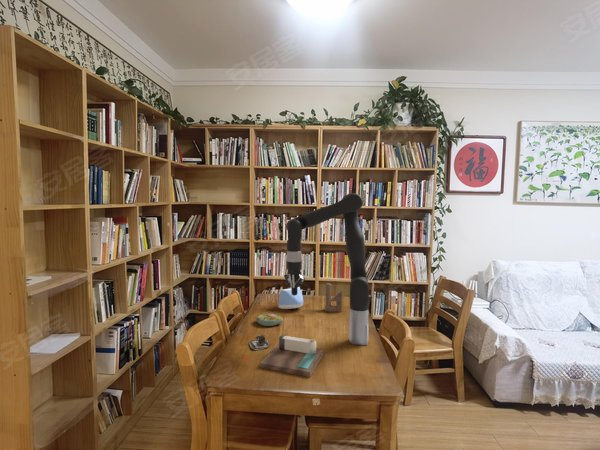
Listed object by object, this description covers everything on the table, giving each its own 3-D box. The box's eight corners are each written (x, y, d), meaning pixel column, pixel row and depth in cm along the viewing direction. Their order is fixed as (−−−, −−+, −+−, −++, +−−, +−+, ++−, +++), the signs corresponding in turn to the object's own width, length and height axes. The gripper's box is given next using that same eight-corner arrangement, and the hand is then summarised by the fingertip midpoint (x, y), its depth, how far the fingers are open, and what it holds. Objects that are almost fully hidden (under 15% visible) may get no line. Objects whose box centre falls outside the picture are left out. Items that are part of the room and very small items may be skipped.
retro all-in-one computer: (268, 307, 210) (268, 287, 209) (292, 303, 221) (292, 284, 220) (284, 316, 193) (285, 295, 192) (309, 311, 204) (309, 290, 203)
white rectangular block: (317, 351, 142) (317, 338, 141) (314, 354, 138) (315, 341, 138) (281, 345, 148) (281, 332, 147) (277, 348, 144) (277, 336, 143)
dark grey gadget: (258, 334, 162) (273, 331, 156) (260, 347, 160) (276, 344, 154) (241, 339, 152) (256, 335, 146) (243, 353, 150) (259, 350, 145)
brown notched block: (341, 312, 201) (342, 285, 200) (325, 311, 202) (325, 284, 201) (341, 310, 204) (342, 283, 203) (325, 310, 206) (325, 283, 205)
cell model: (259, 315, 187) (282, 307, 184) (263, 328, 185) (286, 320, 182) (251, 318, 177) (275, 310, 173) (255, 331, 175) (279, 324, 172)
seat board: (323, 354, 143) (323, 350, 143) (310, 377, 124) (310, 371, 124) (278, 347, 150) (278, 343, 150) (260, 367, 131) (260, 362, 131)
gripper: (309, 260, 151) (309, 296, 152) (290, 257, 160) (290, 291, 161) (298, 262, 145) (298, 299, 146) (279, 259, 155) (279, 294, 156)
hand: (294, 294), depth 154 cm, fingers closed
